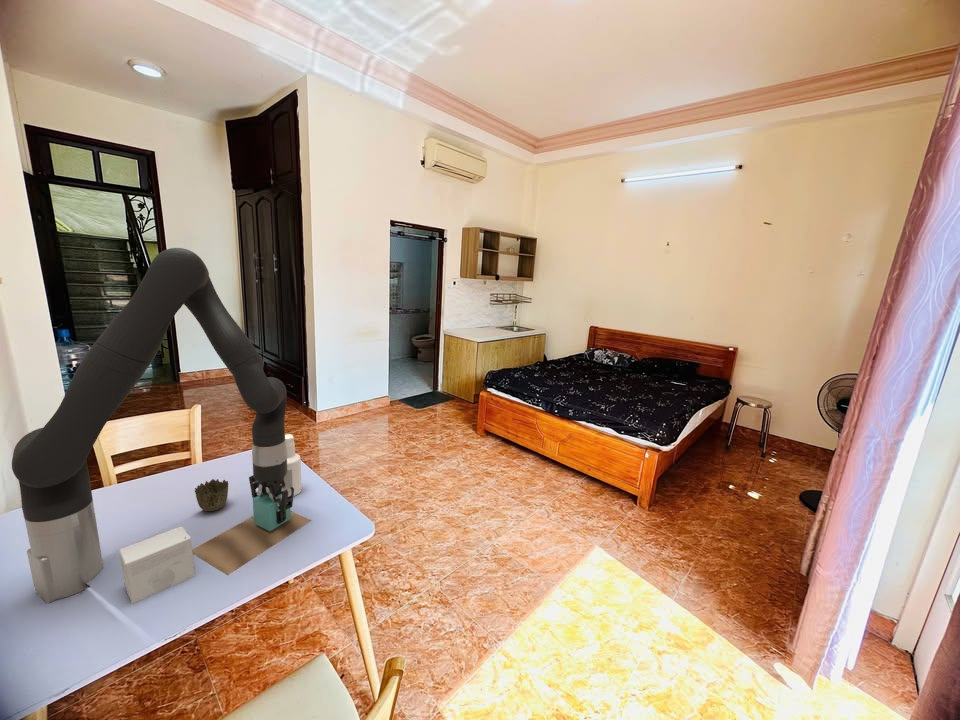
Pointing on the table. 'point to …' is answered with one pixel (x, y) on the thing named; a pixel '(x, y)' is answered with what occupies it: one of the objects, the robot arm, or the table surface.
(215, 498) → the bronze textured bowl
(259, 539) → the board
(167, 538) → the skincare box
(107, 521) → the table surface
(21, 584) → the table surface
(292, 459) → the spray bottle
